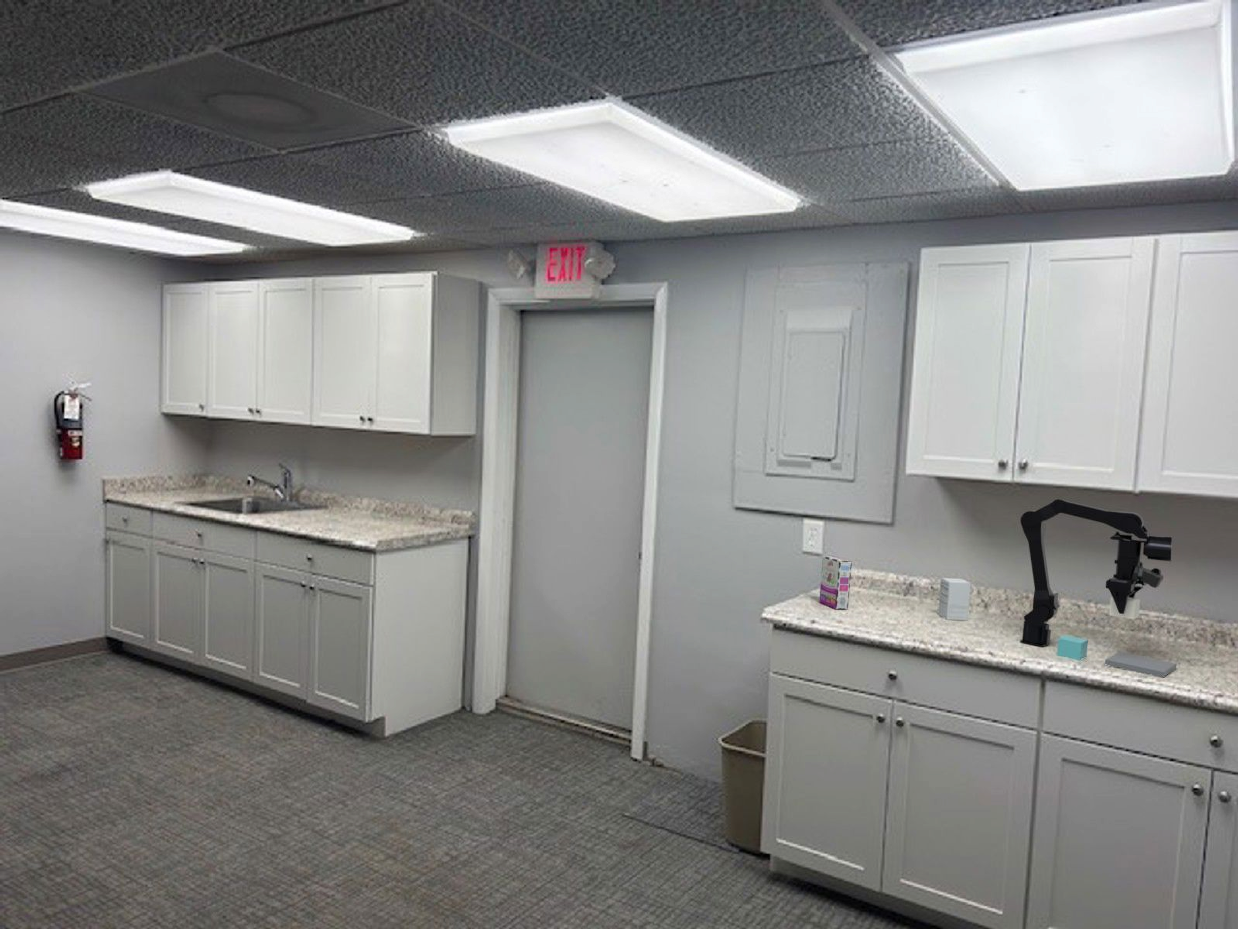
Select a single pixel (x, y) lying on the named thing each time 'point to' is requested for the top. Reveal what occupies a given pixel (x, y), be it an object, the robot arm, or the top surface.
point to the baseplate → (1141, 664)
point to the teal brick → (1072, 647)
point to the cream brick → (1130, 609)
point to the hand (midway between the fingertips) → (1124, 612)
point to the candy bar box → (835, 582)
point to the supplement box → (954, 599)
